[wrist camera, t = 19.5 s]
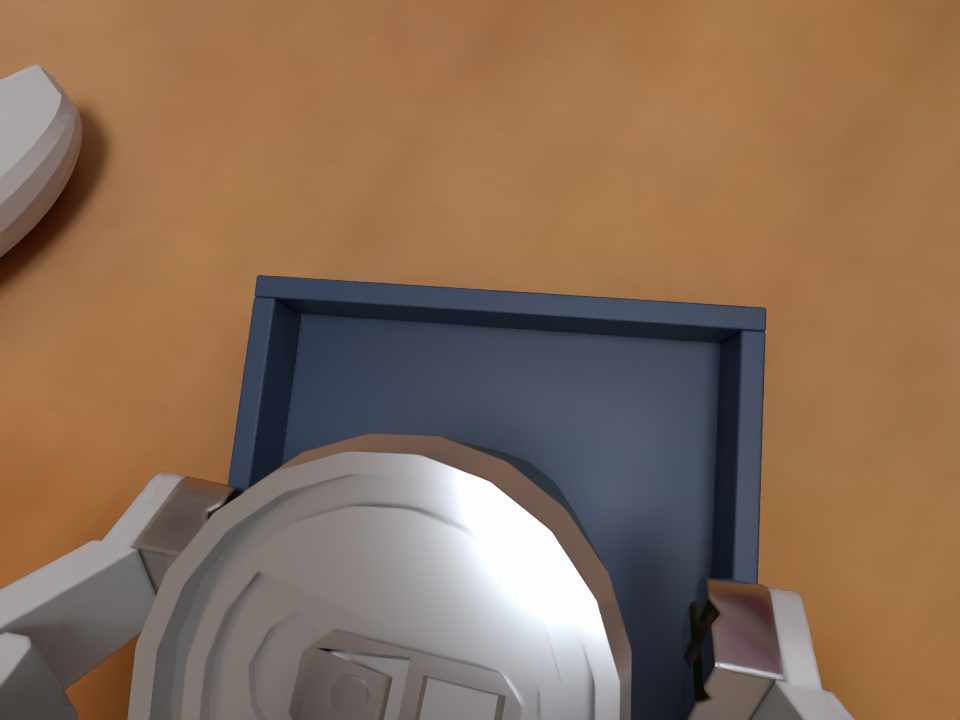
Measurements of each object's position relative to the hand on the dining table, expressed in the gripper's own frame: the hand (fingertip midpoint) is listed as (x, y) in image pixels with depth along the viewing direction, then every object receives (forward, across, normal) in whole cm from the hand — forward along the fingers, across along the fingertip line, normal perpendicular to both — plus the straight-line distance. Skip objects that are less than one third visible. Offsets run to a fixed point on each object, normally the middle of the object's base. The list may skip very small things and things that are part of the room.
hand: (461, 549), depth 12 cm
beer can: (+4, 0, +6) cm, 7 cm away
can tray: (+5, 0, +6) cm, 7 cm away
